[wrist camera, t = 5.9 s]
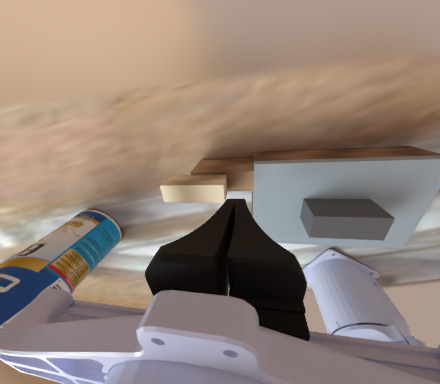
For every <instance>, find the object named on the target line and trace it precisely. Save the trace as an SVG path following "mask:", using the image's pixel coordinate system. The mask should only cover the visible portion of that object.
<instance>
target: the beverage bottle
mask: <svg viewBox="0 0 440 384" xmlns="http://www.w3.org/2000/svg"><path fill="white" fill-rule="evenodd" d="M121 236H122V234H121V230H120V227H119V226H118V224H117V223H116V222H115V221H114V220H113V219H112V218H111V217H110V216H108V215H106V214H105V213H103V212H100V211H96V210H86V211H83V212H81V213H79V214H78V215H76V216H75V217H74V218H73V219H71V220H70V221H68V222H67V223H65V224H64V225H62V226H61V227H59V228H58V229H56V230H55V231H53V232H52V233H50V234H49V235H47V236H45V237H44V238H42V239H41V240H39V241H38V242H36V243H35V244H33V245H31V246H30V247H28V248H27V249H25V250H24V251H22V252H20V253H17V254H15V255H12V256H11V257H9V258H7V259H6V260H5V261H3V262H2V263H1V264H0V330H1V329H2V328H3V327H4V326H5V325H7V324H8V323H9V322H10V321H11V320H12V319H13V318H14V317H15V316H16V315H18V314H19V313H20V312H21V311H22V310H23V309H24V308H25V307H26V306H27V305H29V304H30V303H31V302H32V301H33V300H34V299H35V298H36V297H37V296H38V295H40V294H41V293H42V292H43V291H44V290H45V289H47V288H52V289H60V290H65V291H67V292H69V293H70V294H71V295H72V294H73V292H74V290H75V288H76V287H77V286H78V285H79V284H80V283H81V281H82V280H83V279H84V278H85V277H86V276H87V275H88V274H89V273H90V272H91V271H92V270H93V268H94V267H95V266H96V265H97V264H98V263H99V262H100V261H101V260H102V259H103V258H104V257H105V256H106V255H107V253H108V252H109V251H110V250H111V249H113V248H114V247H115V246H116V245H117V244H118V243H119V241H120V240H121Z"/></svg>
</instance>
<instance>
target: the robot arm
mask: <svg viewBox="0 0 440 384" xmlns="http://www.w3.org/2000/svg"><path fill="white" fill-rule="evenodd" d="M145 277H146V280H147V283H148V285H149V287H150V289H151V292H152V294H153V298H152V300H151V302H150V304H149V306H148V308H147V310H146V309H138V308H131V307H123V306H116V305H108V304H101V303H93V302H86V301H78V300H74V297H73V296H72V295H71V294H70V293H69V292H67V291H65V290H60V289H52V288H47V289H45V290H44V291H43V292H42V293H41V294H40V295H38V296H37V297H36V298H35V299H34V300H33V301H32V302H31V303H30V304H29V305H27V306H26V307H25V308H24V309H23V310H22V311H21V312H20V313H19V314H18V315H16V316H15V317H14V318H13V319H12V320H11V321H10V322H9V323H8V324H7V325H5V326H4V327H3V328H2V329H1V330H0V360H1V361H3V362H5V363H6V364H8V365H10V366H12V367H13V368H15V369H17V370H18V371H20V372H23V373H27V374H31V375H35V376H39V377H42V378H46V379H49V380H53V381H56V382H59V383H62V384H440V345H439V346H438V348H431V347H427V346H426V345H425V343H424V342H422V341H420V340H418V339H415V338H414V336H411V333H410V329H409V326H408V324H407V323H406V320H405V319H404V318H403V316H402V315H401V314H400V312H399V311H398V309H397V308H396V307H395V305H394V304H393V302H392V301H391V300H390V298H389V297H388V296H387V294H386V293H385V292H384V290H383V289H382V288H381V286H380V285H379V283H378V282H377V281H376V279H377V278H379V277H380V274H379V273H378V272H376V271H374V270H372V269H370V268H368V267H366V266H364V265H362V264H360V263H358V262H357V261H355V260H353V259H351V258H349V257H347V256H345V255H343V254H341V253H339V252H337V251H335V250H333V249H328V250H327V251H325V252H324V253H323V254H322V255H320V256H319V257H318V258H316V259H315V260H314V261H312V262H311V263H310V264H309V265H307V266H306V267H305V268H303V269H302V268H301V266H300V264H299V262H298V261H297V259H296V257H295V255H294V254H292V253H291V252H289V251H287V250H286V249H284V248H283V247H281V246H280V245H279V244H277V243H276V242H275V241H274V240H272V239H271V238H270V237H269V236H268V235H267V234H266V233H265V232H264V231H263V230H262V229H261V227H260V226H259V225H258V224H257V222H256V221H255V219H254V218H253V216H252V215H251V213H250V211H249V209H248V207H247V205H246V200H245V199H227V200H226V201H225V202H224V204H223V205H222V206H221V207H220V209H219V210H218V211H217V212H216V213H215V214H214V215H213V216H212V217H211V218H210V219H209V220H208V221H207V222H206V223H204V224H203V225H202V226H200V227H199V228H197V229H196V230H194V231H193V232H191V233H189V234H188V235H186V236H184V237H182V238H180V239H178V240H176V241H174V242H171V243H169V244H166V245H164V246H161V247H160V249H159V250H158V251H157V253H156V254H155V256H154V257H153V259H152V261H151V262H150V264H149V266H148V267H147V269H146V271H145ZM307 283H308V284H311V286H312V289H313V292H314V295H315V298H316V300H317V303H318V306H319V309H320V312H321V314H322V317H323V320H324V323H325V326H326V328H327V331H328V334H326V333H318V332H311V331H309V329H308V326H307V322H306V318H305V315H304V314H305V307H304V303H303V299H304V295H305V292H306V288H307ZM228 287H230V289H229V296H228Z"/></svg>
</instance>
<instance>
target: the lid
mask: <svg viewBox="0 0 440 384" xmlns="http://www.w3.org/2000/svg"><path fill="white" fill-rule="evenodd" d="M439 189H440V155H435V156H403V157H371V158H339V159H307V160H275V161H254V191H253V218H254V219H255V221H256V222H257V224H258V225H259V226H260V227H261V229H262V230H263V231H264V232H265V233H266V234H267V235H268V236H269V237H270V238H271V239H272V240H274V241H275V242H276V243H292V244H313V245H333V246H354V247H374V248H395V249H403V248H404V247H405V245H406V243H407V242H408V240H409V238H410V237H411V235H412V233H413V232H414V230H415V229H416V227H417V225H418V224H419V222H420V220H421V219H422V217H423V215H424V214H425V212H426V211H427V209H428V207H429V206H430V204H431V202H432V201H433V199H434V197H435V196H436V194H437V193H438V191H439Z"/></svg>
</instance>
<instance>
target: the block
mask: <svg viewBox="0 0 440 384" xmlns="http://www.w3.org/2000/svg"><path fill="white" fill-rule="evenodd" d="M160 189H161V192H162V196H163V200H164V202H200V203H224V202H225V199H226V195H227V176H226V175H186V176H169V177H168V178H167V179H166V180H165V181H164V182H163V183H162V184H161V185H160Z"/></svg>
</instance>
